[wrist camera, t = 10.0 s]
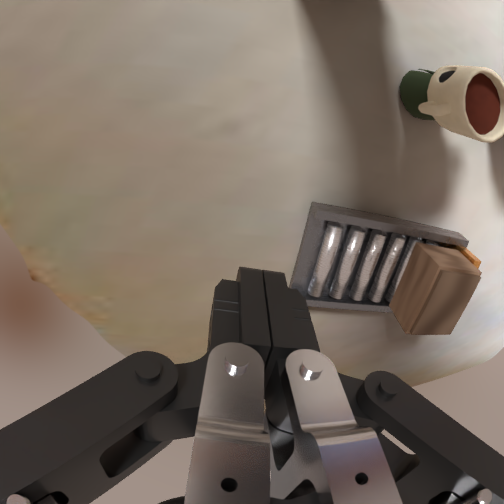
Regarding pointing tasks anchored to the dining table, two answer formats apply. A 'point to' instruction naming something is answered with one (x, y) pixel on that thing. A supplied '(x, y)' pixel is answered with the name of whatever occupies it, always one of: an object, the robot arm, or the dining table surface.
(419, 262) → the brown wooden block
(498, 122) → the character mug
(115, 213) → the dining table surface
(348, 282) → the roller track
